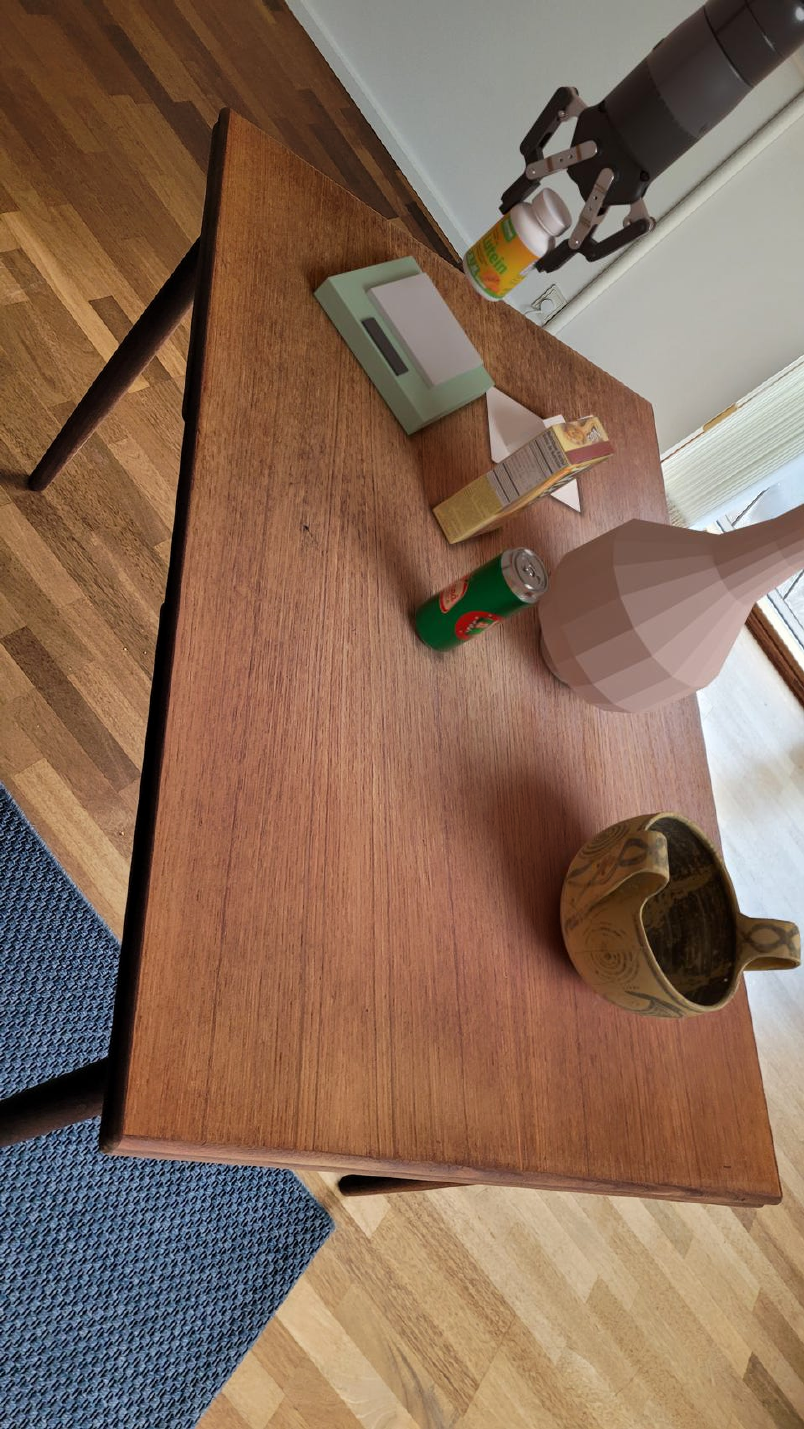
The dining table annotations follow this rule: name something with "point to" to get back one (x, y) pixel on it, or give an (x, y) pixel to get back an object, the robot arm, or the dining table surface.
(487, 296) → the supplement bottle
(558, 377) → the dining table surface
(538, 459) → the candy box
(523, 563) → the soda can
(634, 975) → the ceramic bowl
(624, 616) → the vase
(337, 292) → the scale
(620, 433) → the dining table surface
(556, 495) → the napkin holder
